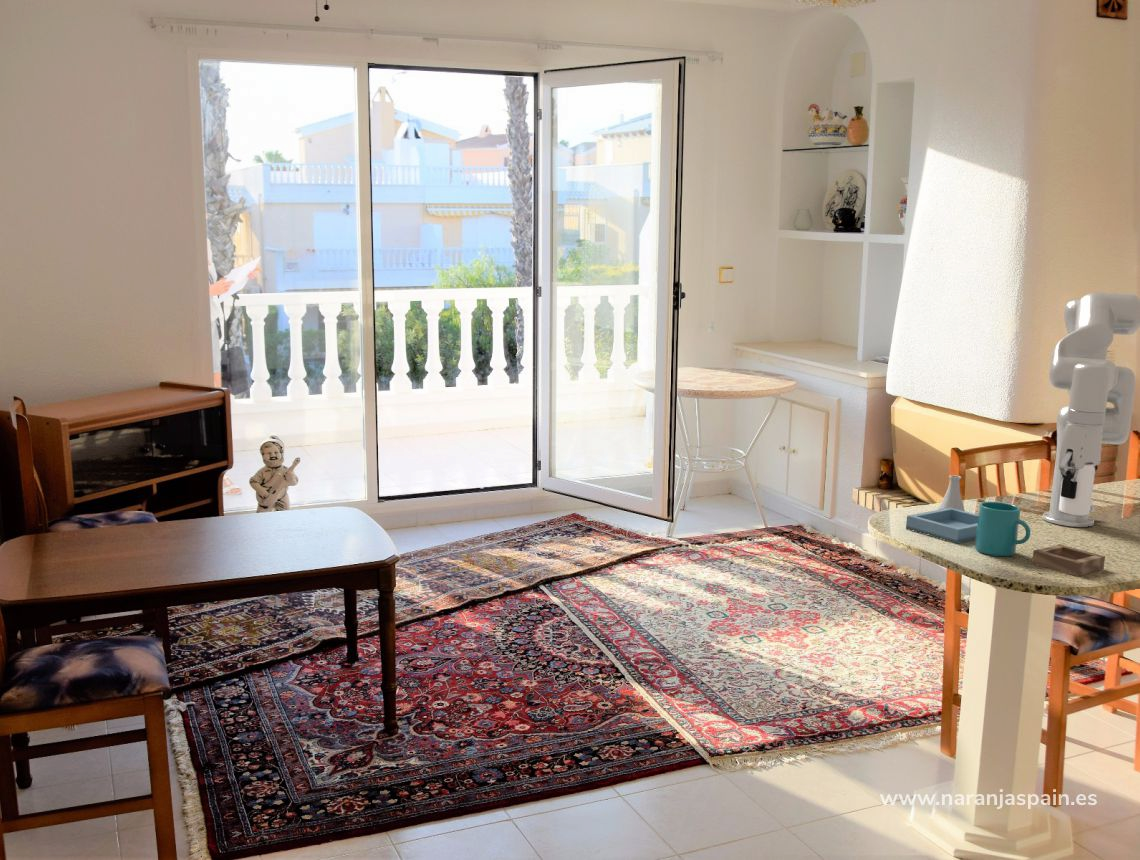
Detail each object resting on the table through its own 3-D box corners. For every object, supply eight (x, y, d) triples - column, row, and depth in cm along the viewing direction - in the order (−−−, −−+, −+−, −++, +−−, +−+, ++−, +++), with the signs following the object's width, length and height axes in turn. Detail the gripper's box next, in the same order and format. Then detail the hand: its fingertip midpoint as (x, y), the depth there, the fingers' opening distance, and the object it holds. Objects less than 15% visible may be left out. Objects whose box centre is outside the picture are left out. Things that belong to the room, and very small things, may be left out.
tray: (948, 520, 285) (950, 507, 284) (999, 534, 273) (1001, 520, 272) (905, 528, 274) (907, 515, 274) (956, 543, 262) (958, 529, 262)
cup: (1021, 562, 248) (1026, 515, 246) (969, 551, 256) (974, 505, 254) (1033, 554, 255) (1038, 508, 253) (982, 544, 263) (986, 499, 261)
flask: (969, 515, 291) (973, 479, 289) (943, 514, 291) (946, 478, 289) (959, 509, 298) (963, 473, 296) (934, 508, 298) (937, 473, 296)
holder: (1058, 556, 254) (1059, 544, 254) (1103, 569, 246) (1105, 556, 245) (1032, 563, 248) (1033, 550, 248) (1077, 576, 239) (1079, 563, 239)
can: (1085, 518, 241) (1092, 466, 238) (1055, 513, 245) (1061, 461, 242) (1092, 512, 246) (1098, 461, 243) (1062, 507, 250) (1068, 457, 247)
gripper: (1090, 412, 249) (1081, 487, 252) (1048, 418, 239) (1039, 496, 242) (1122, 417, 243) (1112, 494, 246) (1081, 424, 233) (1071, 504, 237)
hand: (1076, 494), depth 244 cm, fingers closed on can, 6 cm apart
